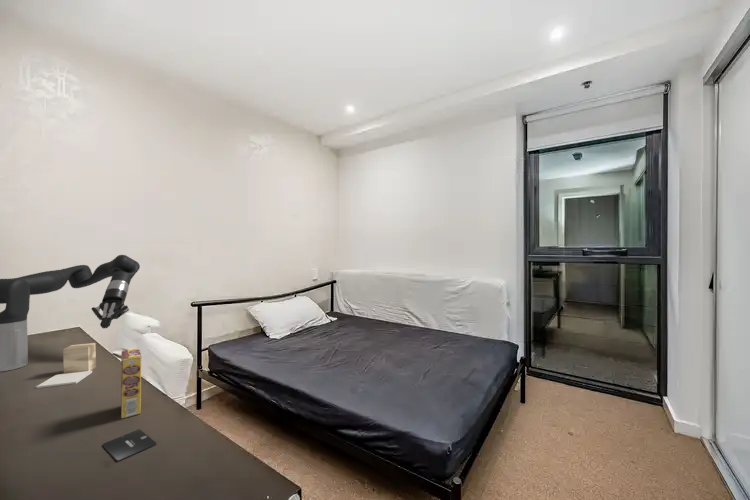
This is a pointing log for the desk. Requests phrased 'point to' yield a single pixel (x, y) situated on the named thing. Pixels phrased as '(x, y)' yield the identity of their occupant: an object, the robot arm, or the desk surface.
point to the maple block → (79, 358)
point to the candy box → (130, 383)
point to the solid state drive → (128, 445)
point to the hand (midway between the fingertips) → (104, 327)
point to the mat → (64, 379)
